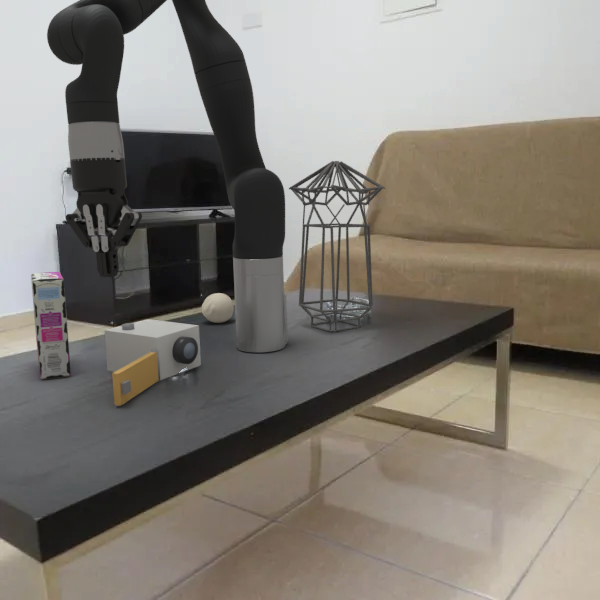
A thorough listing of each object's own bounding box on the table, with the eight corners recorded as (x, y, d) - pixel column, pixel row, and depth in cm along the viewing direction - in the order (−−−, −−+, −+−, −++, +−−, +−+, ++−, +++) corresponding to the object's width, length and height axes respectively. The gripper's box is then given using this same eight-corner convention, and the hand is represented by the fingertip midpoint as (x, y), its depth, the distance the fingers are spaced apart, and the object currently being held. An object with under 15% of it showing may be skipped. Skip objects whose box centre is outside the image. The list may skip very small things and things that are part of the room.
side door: (154, 379, 103) (152, 349, 102) (164, 380, 103) (162, 349, 102) (114, 406, 91) (111, 372, 90) (125, 407, 90) (122, 372, 89)
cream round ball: (195, 323, 146) (194, 294, 145) (221, 318, 151) (220, 289, 150) (213, 327, 141) (212, 297, 140) (240, 322, 146) (238, 292, 145)
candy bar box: (73, 376, 106) (64, 278, 103) (40, 381, 104) (30, 280, 102) (68, 360, 116) (60, 270, 114) (38, 364, 115) (29, 272, 112)
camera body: (150, 356, 118) (147, 314, 116) (208, 366, 110) (206, 321, 109) (107, 370, 109) (103, 325, 108) (167, 382, 102) (164, 333, 101)
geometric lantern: (286, 325, 142) (284, 162, 137) (346, 318, 150) (346, 163, 144) (326, 337, 128) (325, 157, 123) (388, 329, 136) (390, 159, 131)
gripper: (43, 159, 92) (56, 279, 95) (114, 153, 86) (126, 281, 90) (82, 159, 99) (93, 272, 102) (150, 154, 93) (160, 274, 96)
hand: (109, 276), depth 96 cm, fingers closed
